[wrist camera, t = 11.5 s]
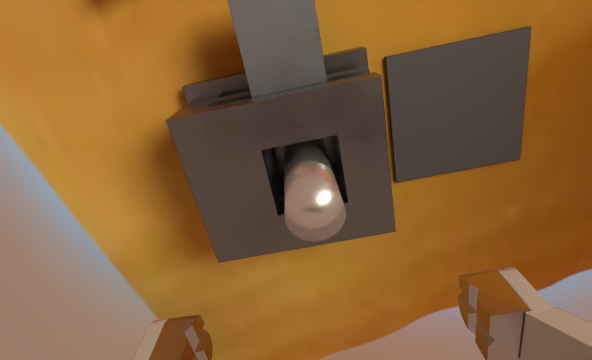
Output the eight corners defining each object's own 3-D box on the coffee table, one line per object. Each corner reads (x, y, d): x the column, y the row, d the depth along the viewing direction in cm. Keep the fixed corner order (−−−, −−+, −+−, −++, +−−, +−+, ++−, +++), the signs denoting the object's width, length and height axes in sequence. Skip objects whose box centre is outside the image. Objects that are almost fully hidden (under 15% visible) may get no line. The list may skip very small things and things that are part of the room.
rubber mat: (528, 26, 23) (531, 26, 23) (517, 158, 27) (520, 159, 27) (384, 56, 24) (386, 57, 24) (395, 181, 28) (396, 182, 28)
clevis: (353, -35, 22) (379, -61, 15) (378, 194, 29) (404, 242, 22) (161, 9, 23) (111, 3, 16) (232, 221, 30) (215, 275, 23)
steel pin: (319, 123, 25) (341, 183, 16) (326, 160, 26) (349, 235, 17) (280, 132, 25) (278, 195, 16) (288, 168, 26) (291, 246, 17)
